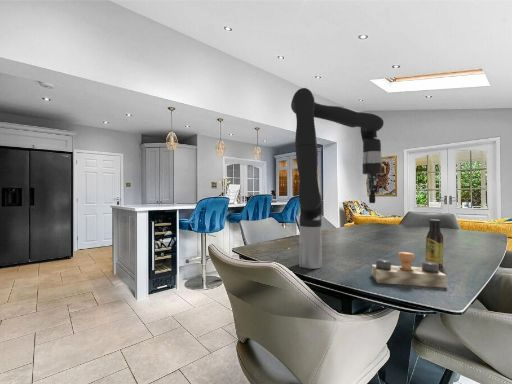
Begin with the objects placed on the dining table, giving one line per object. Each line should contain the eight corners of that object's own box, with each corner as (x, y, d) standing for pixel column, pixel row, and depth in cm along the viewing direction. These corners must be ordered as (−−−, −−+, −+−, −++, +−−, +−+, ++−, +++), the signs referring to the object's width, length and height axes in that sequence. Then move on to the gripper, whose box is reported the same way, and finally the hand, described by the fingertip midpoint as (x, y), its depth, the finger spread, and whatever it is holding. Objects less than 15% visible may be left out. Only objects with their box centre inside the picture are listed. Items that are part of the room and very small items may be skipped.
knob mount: (377, 282, 89) (377, 271, 89) (371, 274, 98) (371, 264, 98) (446, 287, 85) (446, 275, 85) (434, 278, 93) (433, 267, 94)
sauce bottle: (422, 263, 114) (422, 218, 114) (436, 263, 114) (436, 218, 114) (432, 267, 108) (431, 220, 108) (447, 268, 107) (446, 220, 108)
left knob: (377, 280, 91) (377, 262, 91) (374, 276, 96) (374, 258, 96) (392, 281, 90) (392, 263, 90) (388, 277, 95) (388, 259, 95)
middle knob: (401, 273, 90) (401, 254, 90) (396, 269, 94) (396, 251, 94) (416, 273, 89) (416, 255, 89) (411, 270, 93) (411, 252, 93)
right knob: (425, 283, 88) (425, 264, 88) (419, 279, 93) (419, 261, 93) (441, 284, 87) (441, 265, 87) (434, 280, 92) (434, 262, 92)
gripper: (360, 164, 118) (360, 202, 118) (365, 161, 106) (365, 203, 105) (377, 164, 117) (377, 202, 117) (385, 160, 104) (385, 203, 104)
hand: (372, 203), depth 111 cm, fingers closed
